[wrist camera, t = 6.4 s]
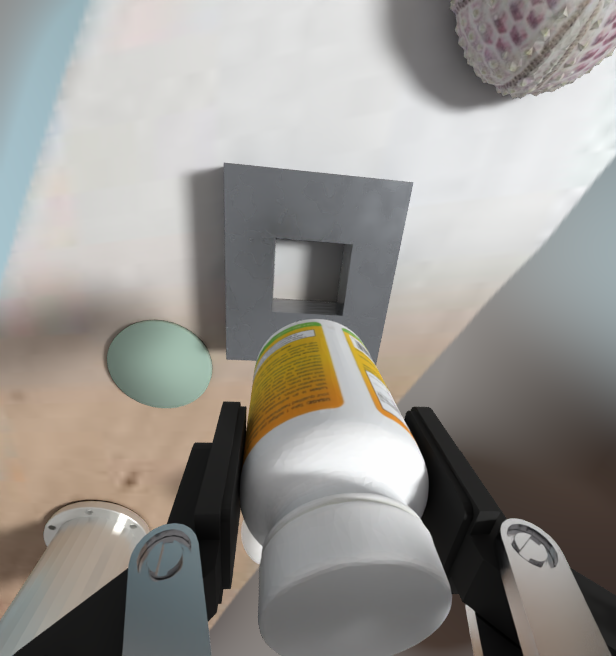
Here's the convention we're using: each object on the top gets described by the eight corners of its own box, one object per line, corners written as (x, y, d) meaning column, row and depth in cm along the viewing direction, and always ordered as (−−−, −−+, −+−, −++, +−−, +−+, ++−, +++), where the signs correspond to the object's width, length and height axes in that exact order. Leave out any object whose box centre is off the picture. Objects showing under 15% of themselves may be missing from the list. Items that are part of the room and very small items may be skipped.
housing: (366, 348, 34) (375, 365, 31) (231, 342, 32) (226, 359, 29) (397, 182, 27) (413, 182, 24) (230, 165, 26) (223, 162, 23)
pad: (213, 405, 35) (212, 409, 35) (118, 403, 34) (115, 406, 34) (210, 322, 31) (209, 325, 31) (102, 317, 30) (99, 319, 30)
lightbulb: (280, 489, 42) (280, 587, 32) (239, 472, 40) (225, 570, 30) (307, 459, 40) (316, 552, 30) (265, 440, 38) (259, 532, 28)
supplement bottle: (244, 402, 16) (199, 682, 7) (270, 303, 14) (251, 517, 5) (347, 421, 17) (421, 686, 8) (384, 330, 15) (541, 550, 6)
